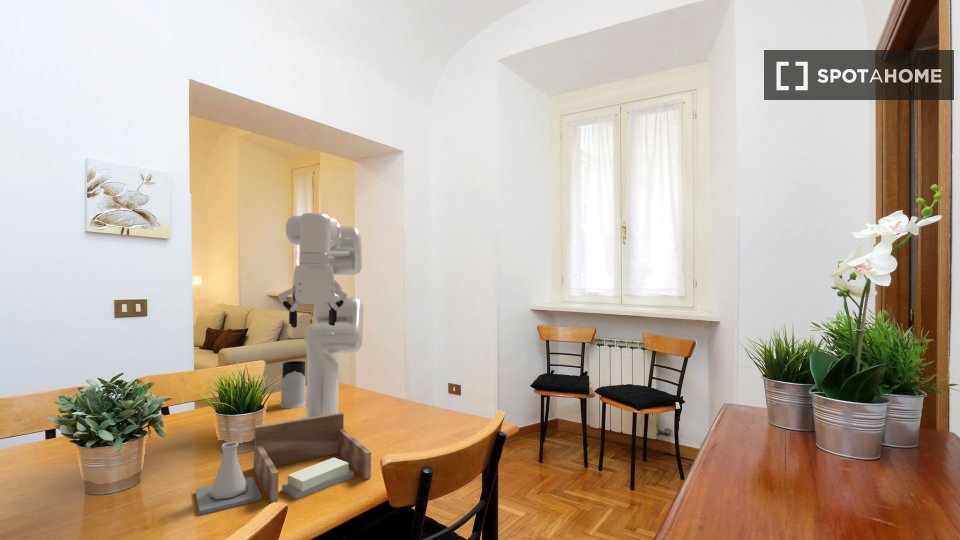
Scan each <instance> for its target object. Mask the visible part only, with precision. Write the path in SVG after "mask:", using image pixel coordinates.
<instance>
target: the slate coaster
mask: <svg viewBox="0 0 960 540" xmlns="http://www.w3.org/2000/svg"><path fill="white" fill-rule="evenodd" d="M244 478H245V480H246V483H247V486H248V487H247V490H246V492H245V493H242V494H240V495H237V496H235V497H232V498H224V499H217V500H216V499H214V498H213V497H211V496H209V494H210V492H211V489H212V487H213V484H212V485H208V486H204V487H198V488H195V492H194V494H195V499H196V503H197V504H196V505H197V508H198V509H197V511H198V515H199V516H201V515H205V514H210V513H213V512H217V511H222V510H226V509H230V508H234V507H238V506H243V505H246V504H250V503H251V504H252V503H254V502H258V501H259V502H260V501H263V499H262V498H263V496H262V493H261V492H260V489H259V487H258V485H257V483H256V481H255V479H254V477H253V476H250V477H244Z"/></svg>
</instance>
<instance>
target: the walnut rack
mask: <svg viewBox="0 0 960 540" xmlns="http://www.w3.org/2000/svg"><path fill="white" fill-rule="evenodd" d="M334 454H339V455H340V456H341V457H342V458H343V459H344V460H345V462H348V463H349V466H351V467H352V468H353V469H354V470H355V471H357V473H358V474H359V475H360V476H362V478H363V479H365V480H370V479H371V478H372V474H371V473H372V470H371V469H372V451H370V450H369V449H368V448H367V447H365V445H363V444H362V443H361V442H360V441H359V440H357V439H356V438H354V437H353V436H352V435H351V434H350V433H349V432H347V430H345V429H344V413H343V412H338V413H335V414H328V415H322V416H315V417H309V418H305V417H302V418H298V419H296V418H295V419H291V420H285V421H279V422H272V423H266V424H259V425H254V439H253V470H254V471H255V473H256V476H257V477H258V479H259V482H260V483H261V485H262V487H263V490H264V491H265V493H266V495H267V497H268V499H269V501H270V503H271V504H273V503H272V502H274V503H278V502H279V471H278V469H277V467H276V466H280V465H281V466H282V465H286V464H291V463H297V462H301V461H306V460H310V459H315V458H320V457H324V456H329V455H334Z"/></svg>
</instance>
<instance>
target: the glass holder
mask: <svg viewBox="0 0 960 540" xmlns="http://www.w3.org/2000/svg"><path fill="white" fill-rule="evenodd" d="M281 375H282V376H281V396H280V397H281V401H280V404H279V407H280V408H282V409H297V408H301V407H306V362H305V361H303V360H293V361H285V362H283V363H282V374H281Z"/></svg>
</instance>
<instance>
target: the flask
mask: <svg viewBox="0 0 960 540" xmlns="http://www.w3.org/2000/svg"><path fill="white" fill-rule="evenodd" d="M238 446H239V441H238V442H237V441H228V442H224V443H222V444H221V447H220V449H222V456H221V462H220V466H219V468H218V472H217V474H216V477H215V480H214V481H213V484H212V485H213V487H212V489H211V492H210V494H209V496H211V497H213V498H214V499H216V500H217V499H224V498H232V497H235V496H237V495H240V494H242V493H245V492H246V490H247V487H248V486H247V483H246V480H245V478H246V477H245V476H244V473H243V471H242V467H241V465H240V463H239V458H238V451H237V450H238Z"/></svg>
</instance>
